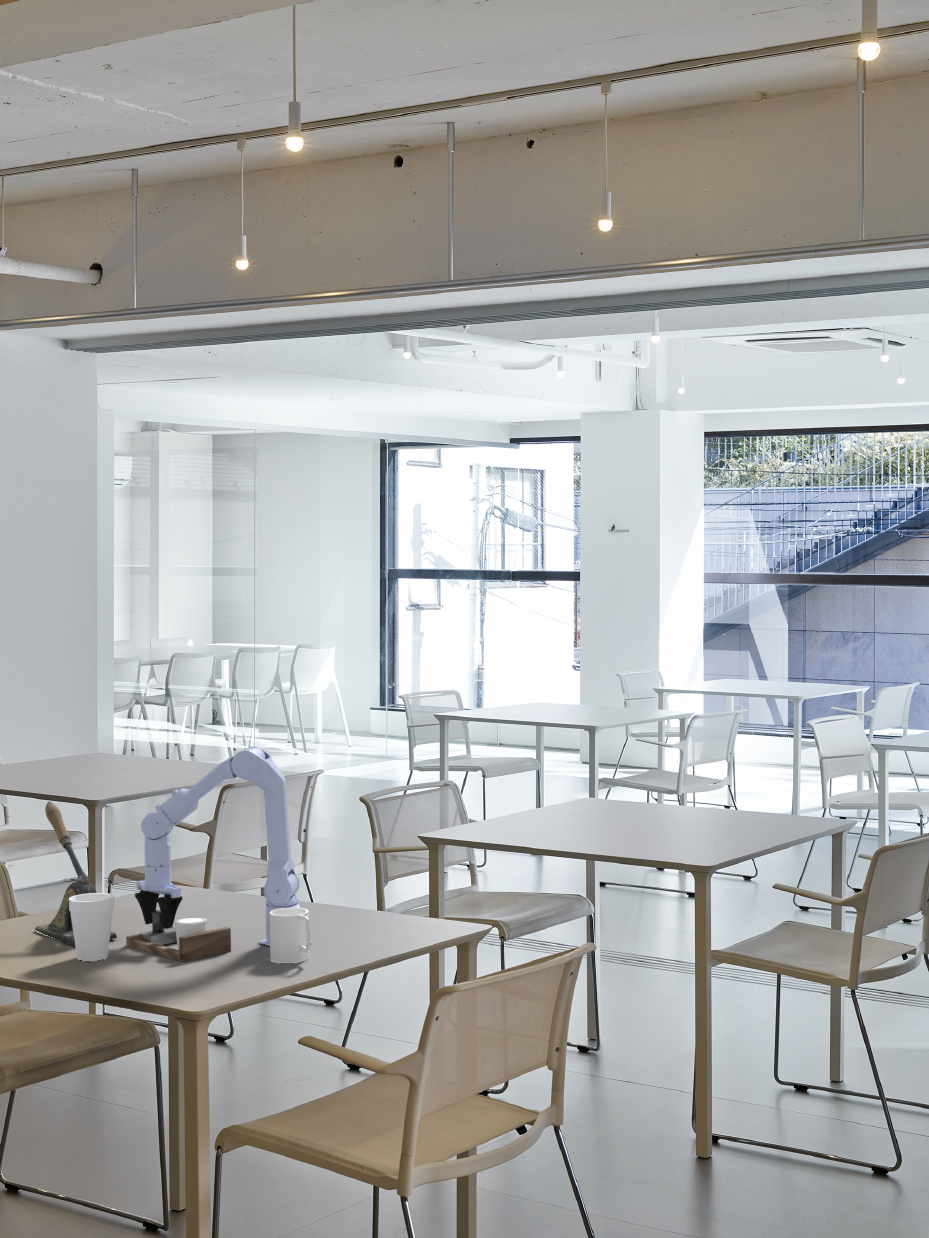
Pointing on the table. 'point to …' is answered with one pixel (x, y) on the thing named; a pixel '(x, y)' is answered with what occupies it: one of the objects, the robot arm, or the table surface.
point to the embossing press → (62, 921)
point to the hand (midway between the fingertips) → (158, 925)
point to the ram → (158, 931)
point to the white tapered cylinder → (189, 926)
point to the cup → (289, 935)
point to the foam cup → (91, 924)
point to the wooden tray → (189, 945)
